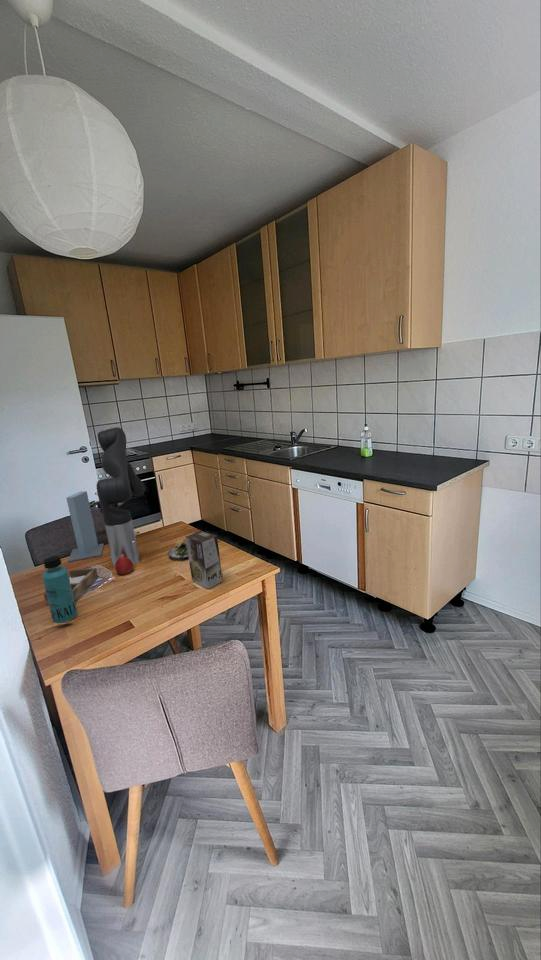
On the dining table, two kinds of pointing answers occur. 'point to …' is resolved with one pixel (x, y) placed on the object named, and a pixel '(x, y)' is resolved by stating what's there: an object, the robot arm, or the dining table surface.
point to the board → (82, 522)
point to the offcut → (76, 579)
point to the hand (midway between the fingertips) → (92, 511)
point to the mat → (91, 554)
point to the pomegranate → (123, 565)
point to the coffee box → (204, 558)
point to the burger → (178, 551)
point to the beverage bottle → (59, 591)
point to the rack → (83, 585)
